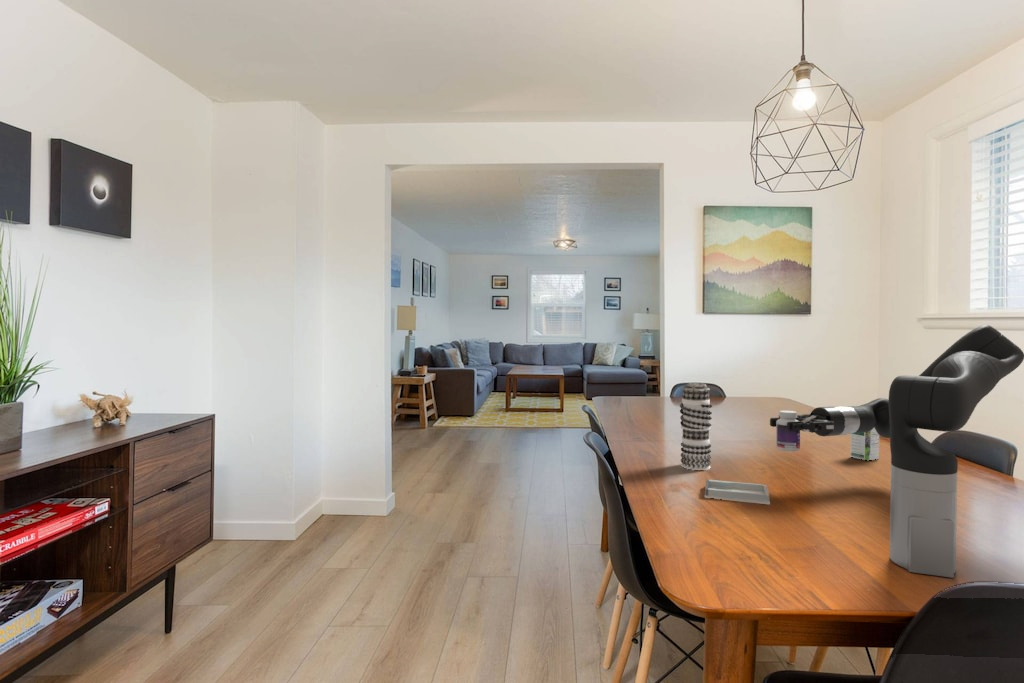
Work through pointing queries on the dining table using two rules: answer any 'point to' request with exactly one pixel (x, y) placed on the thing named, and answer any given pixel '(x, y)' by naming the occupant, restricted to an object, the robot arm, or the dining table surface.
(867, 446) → the syrup box
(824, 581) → the dining table surface
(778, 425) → the pill bottle
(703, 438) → the decorative candle
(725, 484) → the white rimmed tray
